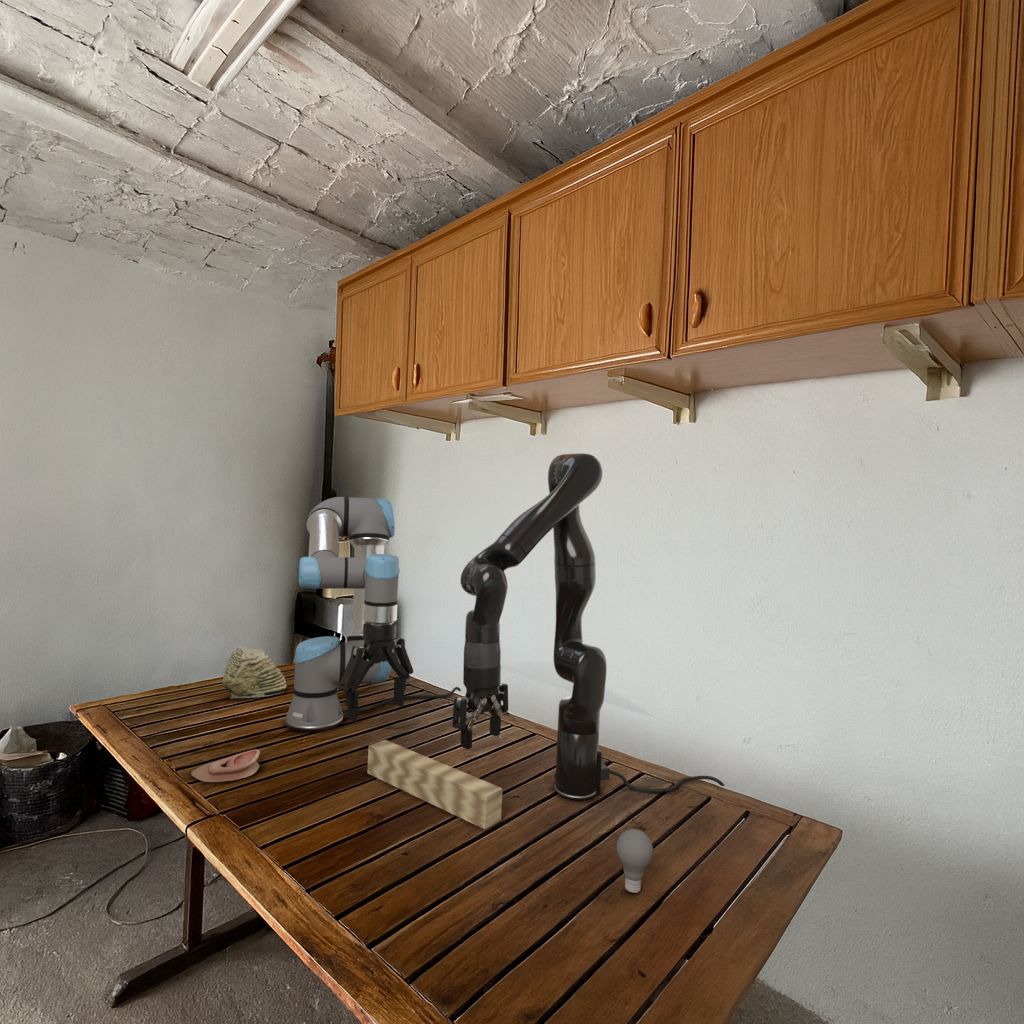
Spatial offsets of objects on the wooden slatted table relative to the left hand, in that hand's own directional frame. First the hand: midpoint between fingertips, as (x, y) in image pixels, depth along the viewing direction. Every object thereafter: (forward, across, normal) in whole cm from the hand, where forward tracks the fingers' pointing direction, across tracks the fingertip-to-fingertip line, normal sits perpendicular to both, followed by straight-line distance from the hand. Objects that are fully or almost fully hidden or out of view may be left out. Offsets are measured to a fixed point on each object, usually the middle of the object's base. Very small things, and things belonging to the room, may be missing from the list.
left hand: (376, 712), depth 147 cm
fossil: (+16, -10, -69) cm, 72 cm away
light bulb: (+12, +1, +67) cm, 68 cm away
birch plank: (+13, 0, +18) cm, 23 cm away
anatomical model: (+14, +24, -23) cm, 36 cm away
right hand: (-3, 0, +32) cm, 32 cm away
